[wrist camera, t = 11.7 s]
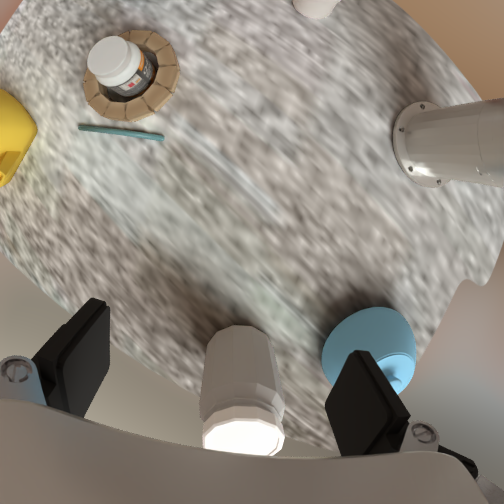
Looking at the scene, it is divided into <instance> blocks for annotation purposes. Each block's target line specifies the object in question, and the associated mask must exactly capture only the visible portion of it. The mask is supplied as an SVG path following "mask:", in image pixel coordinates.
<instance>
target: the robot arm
mask: <svg viewBox="0 0 504 504" xmlns="http://www.w3.org/2000/svg"><path fill="white" fill-rule="evenodd" d="M399 129H400V131H399ZM393 147H394V151H395V155H396V158H397V161H398V163H399V165H400V167H401V168H402V170H403V171H404V173H405V174H406V175H407V176H408V177H409V178H410V179H411V180H412V181H413V182H415V183H417V184H418V185H421V186H424V187H430V188H437V187H441V186H444V185H445V184H447V183H448V182H449V181H450V180H457V181H464V182H471V183H477V184H483V185H489V186H494V187H500V188H504V98H499V99H492V100H485V101H478V102H472V103H466V104H461V105H455V106H450V107H445V108H441V107H439V106H438V105H436V104H433V103H430V102H426V101H423V102H416V103H412V104H410V105H408V106H407V107H405V108H404V109H403V110H402V111H401V113H400V114H399V115H398V117H397V119H396V122H395V125H394V129H393ZM408 168H409V169H408ZM109 365H110V307H109V306H106V302H105V301H102V300H99V299H95V298H90V299H89V300H88V301H87V302H86V303H85V304H84V305H83V306H82V307H81V308H80V309H79V311H78V312H77V313H76V314H75V315H74V316H73V317H72V318H71V319H70V320H69V321H68V322H67V323H66V324H63V325H62V326H61V327H60V328H59V329H58V330H57V331H56V332H55V333H54V335H53V336H52V337H51V338H50V339H49V340H48V341H47V342H46V343H45V344H44V345H43V347H42V348H41V349H40V350H39V351H38V352H37V353H36V354H35V356H34V357H33V358H32V359H31V360H30V359H28V358H27V357H23V356H15V355H14V356H9V357H7V358H4V359H3V360H2V361H1V362H0V504H504V491H503V490H502V489H500V488H499V487H498V486H496V485H495V484H494V483H492V482H491V481H489V480H488V479H487V478H485V477H484V476H483V475H480V476H479V477H478V469H477V466H476V465H475V463H474V462H473V461H472V460H471V459H468V458H467V457H464V456H462V455H460V454H458V453H456V452H453V451H451V450H449V449H447V448H445V447H442V446H440V445H439V434H438V432H437V430H436V429H435V428H434V427H433V426H431V425H430V424H428V423H426V422H423V421H413V422H411V423H410V424H409V422H408V421H407V420H408V419H409V418H410V416H411V415H410V414H409V412H408V411H407V409H406V408H405V406H404V404H403V403H402V401H401V400H400V398H399V396H398V395H397V393H396V392H395V390H394V389H393V387H392V386H391V384H390V382H389V381H388V379H387V378H386V376H385V375H384V373H383V372H382V370H381V369H380V367H379V366H378V364H377V363H376V361H375V360H374V358H373V357H372V355H371V353H370V352H369V351H364V350H354V351H353V352H352V353H350V354H349V355H348V357H347V359H346V361H345V363H344V365H343V368H342V370H341V372H340V374H339V376H338V378H337V380H336V382H335V384H334V386H333V388H332V390H331V392H330V394H329V396H328V398H327V400H326V402H325V410H326V413H327V416H328V418H329V421H330V424H331V427H332V430H333V433H334V436H335V439H336V442H337V445H338V448H339V450H340V453H341V456H340V457H283V456H266V455H253V454H242V453H233V452H225V451H217V450H211V449H204V448H198V447H192V446H187V445H181V444H176V443H171V442H167V441H162V440H158V439H154V438H149V437H145V436H142V435H138V434H134V433H130V432H127V431H123V430H120V429H116V428H113V427H109V426H106V425H103V424H99V423H97V422H94V421H91V420H88V419H85V418H84V416H85V414H86V412H87V410H88V408H89V406H90V404H91V402H92V400H93V398H94V396H95V394H96V392H97V391H98V389H99V387H100V385H101V383H102V381H103V379H104V377H105V376H106V374H107V372H108V369H109Z"/></svg>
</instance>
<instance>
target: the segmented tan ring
mask: <svg viewBox="0 0 504 504" xmlns="http://www.w3.org/2000/svg"><path fill="white" fill-rule="evenodd" d="M118 36H119V37H121V38H123V39H124V40H125V41H130V42H132V43H134V44H136V45H137V46H138V47H139V48H140V50H141V51H143V52H151V53H152V54H154V55H155V56H156V57H157V60H158V64H159V69H158V72H157V75H156V78H155V82H154V83H153V84H152V85H151V86H150V88H149V89H148V90H147V91H146V92H145V93H144V94H143V95H142V96H141V97H138V98H136V99H133V100H131V101H129V102H126V103H121V102H114V101H113V100H112V99H111V98H109V96H108V91H107V87H106V86H104V85H102V84H101V83H100V82H99V81H98V80H97V79H96V77H95V74H93V73H92V72H91V71H90V70H89V68H88V67H87V70H86V73H85V76H84V80H83V81H85V83H83V86H84V91H85V96H86V100H87V102H89V103H88V104H89V105H90V106H91V107H92V108H93V109H94V110H95V111H96V112H98V113H99V114H100V115H101V116H103V117H105V118H108V119H111V120H117V121H126V122H132V121H134V122H136V121H138V120H140V119H143V118H145V117H148V116H150V115H153V114H155V113H154V110H155V111H157V112H158V111H159V110H160V109H161V107H162V106H163V105H164V104H165V103H166V102H167V101H168V100H169V99H170V98H171V97H172V96H173V95H172V94H171V93H170V92H172V93H174V92H175V89H176V85H177V82H178V79H179V75H180V72H179V71H180V68H179V64H178V61H177V57H176V54H175V52H174V50H173V48H172V46H171V45H170V43H169V42H168V41H166V40H165V39H164V38H162V37H161V36H159V35H158V34H157V33H155V32H152V31H142V30H131V33H130V32H129V31H127V32H125V33H122V34H120V35H118Z"/></svg>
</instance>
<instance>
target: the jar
mask: <svg viewBox="0 0 504 504" xmlns="http://www.w3.org/2000/svg"><path fill="white" fill-rule="evenodd" d="M199 405H200V418H201V419H202V420H203V421H204V425H203V447H204V448H205V449H211V450H217V451H225V452H233V453H242V454H253V455H266V456H273V455H274V454H275V453H277V452H278V451H279V450H280V449H282V445H283V441H284V437H285V436H284V431H283V425H282V424H281V421H282V418H283V414H284V409H285V401H284V396H283V391H282V387H281V382H280V377H279V372H278V367H277V362H276V357H275V352H274V347H273V346H272V344H271V342H270V340H269V338H268V337H267V335H266V334H265V333H263V332H261V331H259V330H257V329H256V328H254V327H252V326H239V325H232V326H230V327H227V328H225V329H223V330H220V331H218V332H216V334H215V335H214V336H213V337H212V339H211V340H210V341H209V343H208V344H207V350H206V357H205V364H204V372H203V379H202V387H201V394H200V402H199Z"/></svg>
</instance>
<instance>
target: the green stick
mask: <svg viewBox="0 0 504 504" xmlns="http://www.w3.org/2000/svg"><path fill="white" fill-rule="evenodd" d="M78 129H79V130H83V131H92V132H101V133H109V134H117V135H125V136H132V137H139V138H145V139H152V140H158V141H163V140H164V136H162V135H156V134H149V133H142V132H135V131H128V130H121V129H112V128H104V127H95V126H84V125H80V126H79V127H78Z"/></svg>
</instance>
